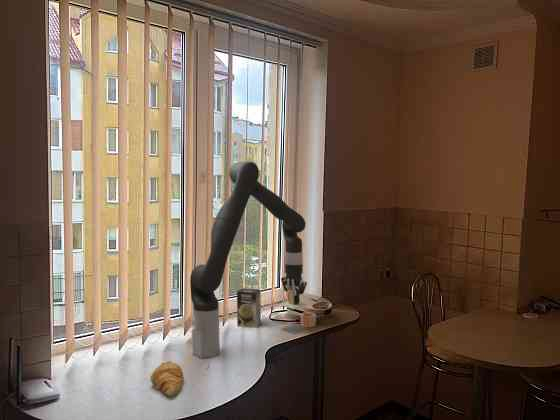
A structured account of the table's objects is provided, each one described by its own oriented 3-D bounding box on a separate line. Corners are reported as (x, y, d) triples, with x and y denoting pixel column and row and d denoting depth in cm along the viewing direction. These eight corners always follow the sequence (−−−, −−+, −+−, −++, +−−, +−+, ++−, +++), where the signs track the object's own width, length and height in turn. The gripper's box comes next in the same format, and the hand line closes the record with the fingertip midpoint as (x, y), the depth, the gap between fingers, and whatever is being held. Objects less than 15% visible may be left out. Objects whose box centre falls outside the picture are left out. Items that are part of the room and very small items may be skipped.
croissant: (181, 408, 143) (193, 383, 144) (151, 399, 139) (163, 374, 140) (172, 377, 163) (182, 356, 163) (145, 369, 159) (155, 347, 160)
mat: (294, 335, 193) (294, 334, 193) (280, 330, 199) (280, 329, 199) (308, 330, 199) (308, 329, 199) (294, 325, 205) (294, 324, 205)
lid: (293, 309, 193) (293, 293, 192) (281, 305, 198) (281, 289, 198) (306, 305, 198) (306, 289, 197) (293, 302, 203) (293, 286, 203)
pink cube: (308, 329, 200) (308, 318, 200) (297, 325, 205) (297, 314, 205) (318, 325, 205) (318, 314, 204) (307, 322, 209) (307, 311, 209)
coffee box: (236, 327, 204) (236, 291, 202) (242, 323, 210) (241, 287, 208) (256, 329, 201) (255, 292, 200) (261, 324, 207) (260, 289, 206)
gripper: (275, 261, 199) (275, 301, 200) (299, 266, 189) (299, 308, 190) (288, 259, 204) (288, 297, 206) (312, 263, 194) (311, 304, 195)
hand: (293, 302), depth 198 cm, fingers closed on lid, 3 cm apart
